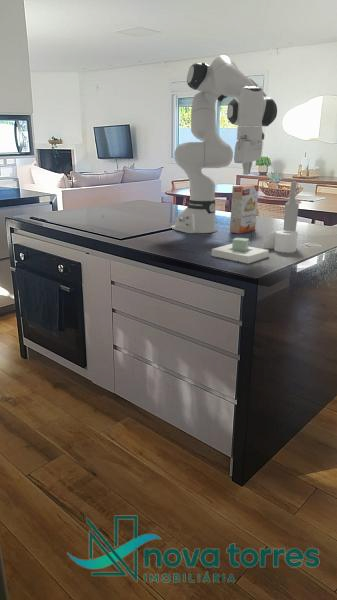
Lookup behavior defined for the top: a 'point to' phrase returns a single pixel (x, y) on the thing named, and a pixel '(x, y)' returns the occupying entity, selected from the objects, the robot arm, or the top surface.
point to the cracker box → (244, 208)
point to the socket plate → (240, 254)
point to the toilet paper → (281, 241)
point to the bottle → (291, 210)
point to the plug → (240, 244)
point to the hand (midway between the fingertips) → (246, 174)
